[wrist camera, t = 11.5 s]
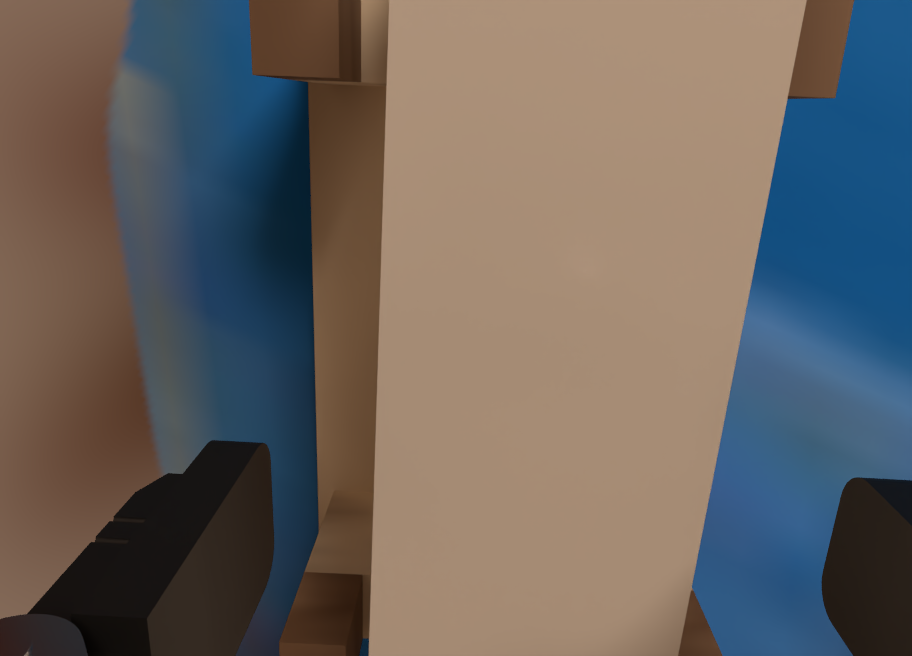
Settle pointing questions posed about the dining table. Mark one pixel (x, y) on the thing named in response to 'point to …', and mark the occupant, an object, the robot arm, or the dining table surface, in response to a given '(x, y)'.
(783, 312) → the dining table surface
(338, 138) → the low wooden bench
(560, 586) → the beige long block
